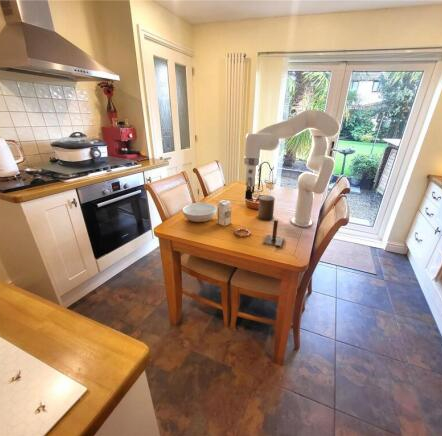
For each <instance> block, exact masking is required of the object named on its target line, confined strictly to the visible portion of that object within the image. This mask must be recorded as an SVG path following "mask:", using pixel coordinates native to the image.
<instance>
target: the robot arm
mask: <svg viewBox="0 0 442 436" xmlns="http://www.w3.org/2000/svg"><path fill="white" fill-rule="evenodd" d="M306 130H308V131H309V133H310V135H311V139H312V145H311V149H310V151H309V154H308V158H307V161H306V168H307V169H308V170H309V171H312V172H313V173H312V172H309V171H305V172H302V173H301V174H300V175H298V179H297V195H296V196H297V197H296V203H295V211H294V217H292V218H291V221H290V222H291V223H292V225H294V226H297V227H301V228H309V227H310V226H312V225H313V221H312V220H311V216H312V210H313V205H314V200H315V194H318V195H321V194H323V193H325V192H326V190H327V189H328V186H329V184H330V182H331V179H332V176H333V173H334V170H335V166H336V164H335V163H336V162H335V159H334V158H333V157H331V156H330V155H329V156H328V155H327V151H328V149H329V140H328V139H333V138H335V137H336V136H337V135H338V134H339V133H340V130H341V125H340V123H339V121H338V120H337V119H336V118H334V117H333V116H331V115H330V114H329V113H327V112H325V111H323V110H319V109H317V110H316V109H307V110H306V109H305V110H303V111H301V112H300V113H298V114H296V115H294V116H292V117H290V118H289V119H285V120H284V121H279V122H277V123H274V124H271V125H268V126H266V127H264V128H262V129H260V130H258V131H257V132H248V133H246V135H245V143H244V144H245V145H244V146H245V147H244V159H243V164H244V165H245V166H246V167H245V184H244V185H245V186H246V187H245V195H244V199H246V200H252V199H253V194H254V193H255V188H256V186H257V183H258V171H259V166H261V158H262V151H268V152H269V151H270V152H272V151H275V150H277V148H278V147H279V146H280V140H281V139H283V140H285V139H291V138H294V137H296V136H298V135H300V134H301V133H303V132H305V131H306ZM314 172H315V173H318V174H315V173H314Z"/></svg>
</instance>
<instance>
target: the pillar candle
mask: <svg viewBox="0 0 442 436" xmlns="http://www.w3.org/2000/svg"><path fill="white" fill-rule="evenodd" d="M257 210H258V212H257V218H258V219H260V220H262V221H265V222H266V221H267V222H268V221H271V220H274V219H273V218H274V211H275V197H274V196H273V195H268V194H263V195H260V196H259V199H258V209H257Z"/></svg>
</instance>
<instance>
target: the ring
mask: <svg viewBox="0 0 442 436" xmlns="http://www.w3.org/2000/svg"><path fill="white" fill-rule="evenodd" d="M238 232H246V234H239V233H238ZM233 234H234V236H235V237H238V238H248V237H250V236H251V235H252V232H251V231H250V230H249V229H247V228H238V229H235V230H234V232H233Z"/></svg>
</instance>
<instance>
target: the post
mask: <svg viewBox="0 0 442 436" xmlns="http://www.w3.org/2000/svg"><path fill="white" fill-rule="evenodd" d="M278 224H279V219H278V218H274V219H273V226H272V235H270V234H269V235H268V234H267V235H266V236H265V239H264V241H263V245H267V246H268V245H269V246H274V247H275V248H278V249H281V248H282V246H283V242H284V237H280V236H277V234H278V233H277V232H278Z"/></svg>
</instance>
